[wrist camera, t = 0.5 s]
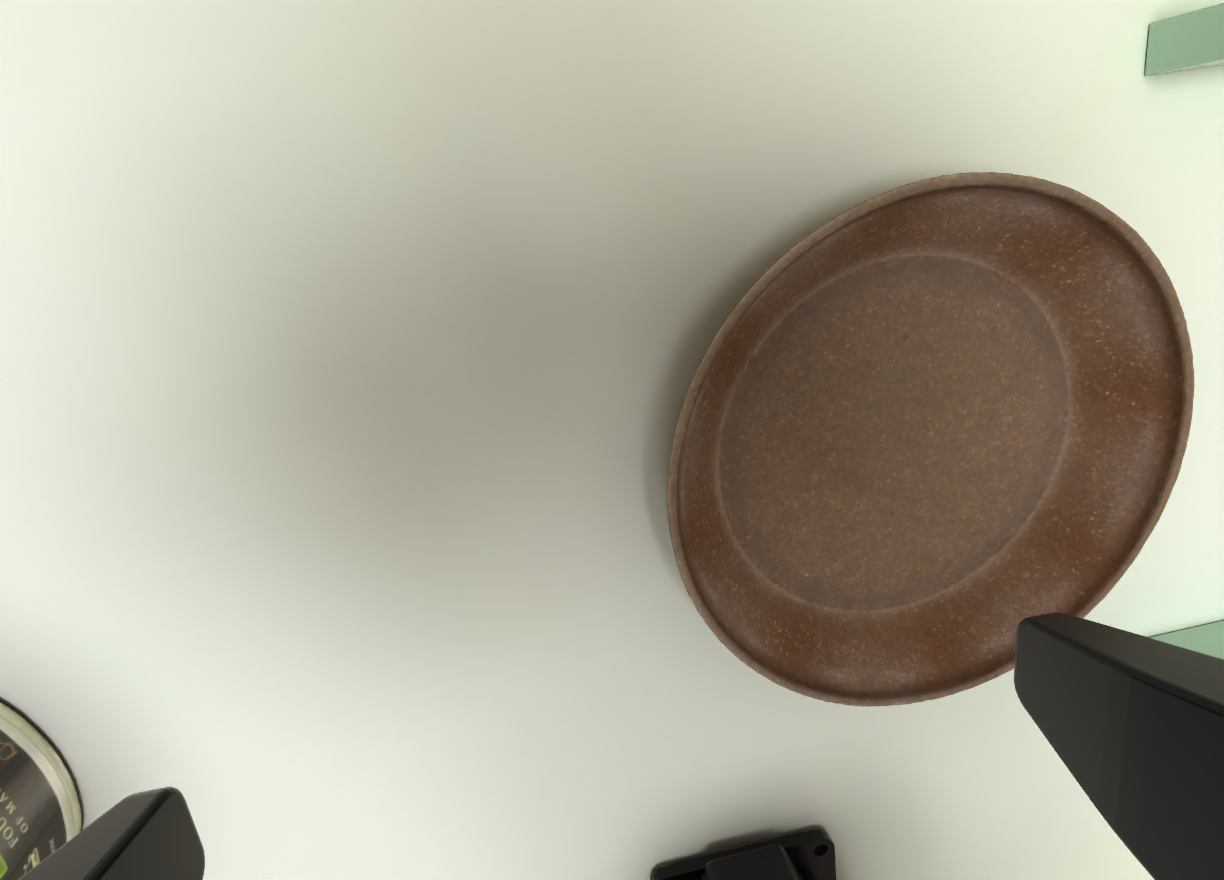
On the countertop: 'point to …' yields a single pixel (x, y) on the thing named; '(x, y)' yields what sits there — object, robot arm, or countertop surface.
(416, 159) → the countertop surface
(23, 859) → the coffee can
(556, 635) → the countertop surface
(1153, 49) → the tray
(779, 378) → the saucer
